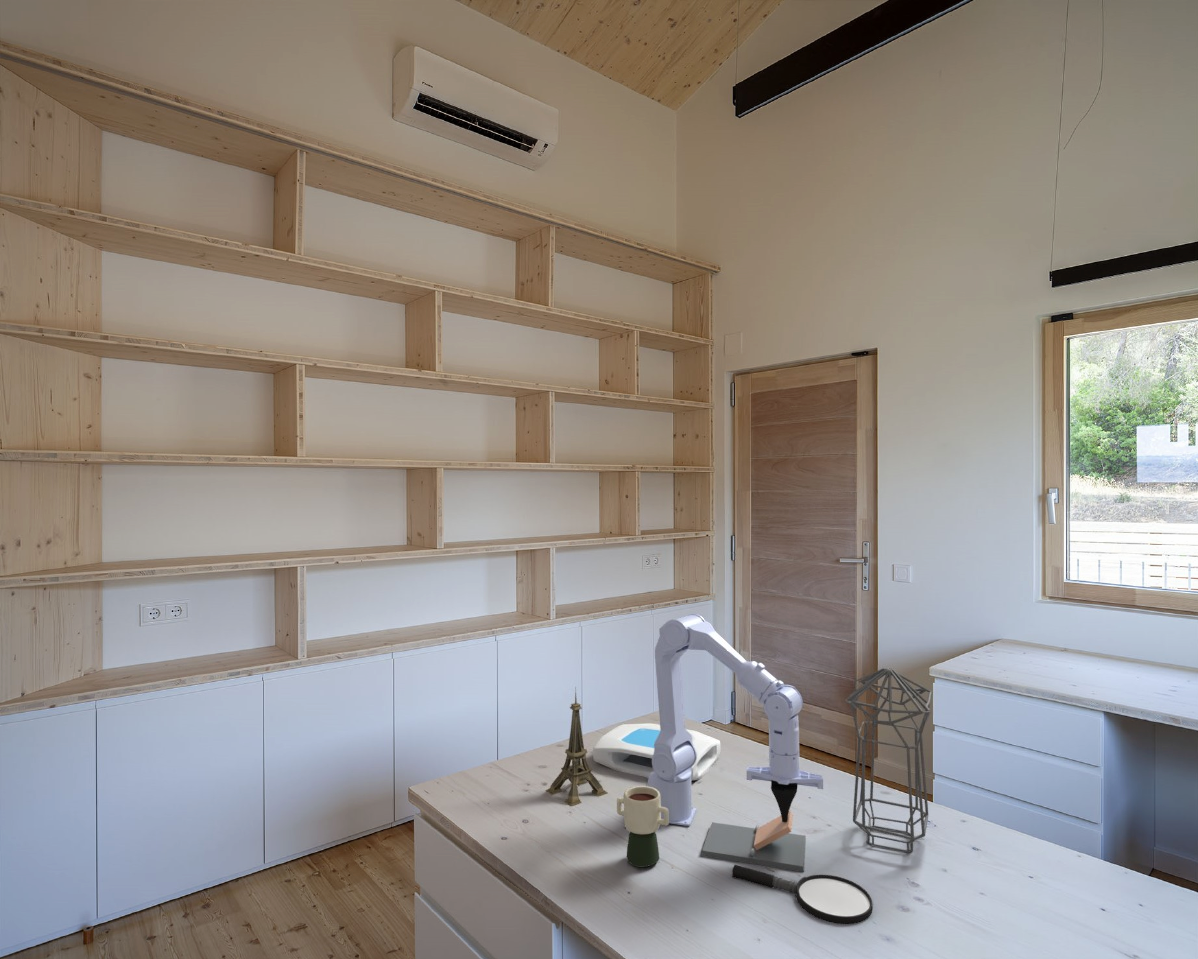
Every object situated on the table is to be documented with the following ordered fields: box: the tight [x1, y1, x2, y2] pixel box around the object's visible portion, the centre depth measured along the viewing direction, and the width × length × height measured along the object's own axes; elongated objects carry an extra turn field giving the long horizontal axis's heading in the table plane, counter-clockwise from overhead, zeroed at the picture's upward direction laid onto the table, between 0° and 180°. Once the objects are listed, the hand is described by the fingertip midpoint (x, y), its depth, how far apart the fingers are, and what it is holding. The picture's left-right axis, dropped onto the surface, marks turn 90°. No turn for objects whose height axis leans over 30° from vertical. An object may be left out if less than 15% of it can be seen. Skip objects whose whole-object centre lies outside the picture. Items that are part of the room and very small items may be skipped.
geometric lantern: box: [844, 667, 933, 854], centre depth 138 cm, size 16×16×35 cm
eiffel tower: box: [545, 686, 609, 807], centre depth 162 cm, size 11×11×25 cm
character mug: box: [616, 785, 670, 868], centre depth 131 cm, size 11×7×13 cm, turn 62°
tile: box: [754, 810, 794, 850], centre depth 134 cm, size 8×7×1 cm
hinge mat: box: [701, 822, 807, 873], centre depth 135 cm, size 19×12×2 cm, turn 71°
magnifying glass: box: [732, 864, 874, 925], centre depth 120 cm, size 12×24×2 cm, turn 61°
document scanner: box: [592, 723, 722, 782], centre depth 180 cm, size 21×28×6 cm
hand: (785, 819), depth 133 cm, fingers closed
